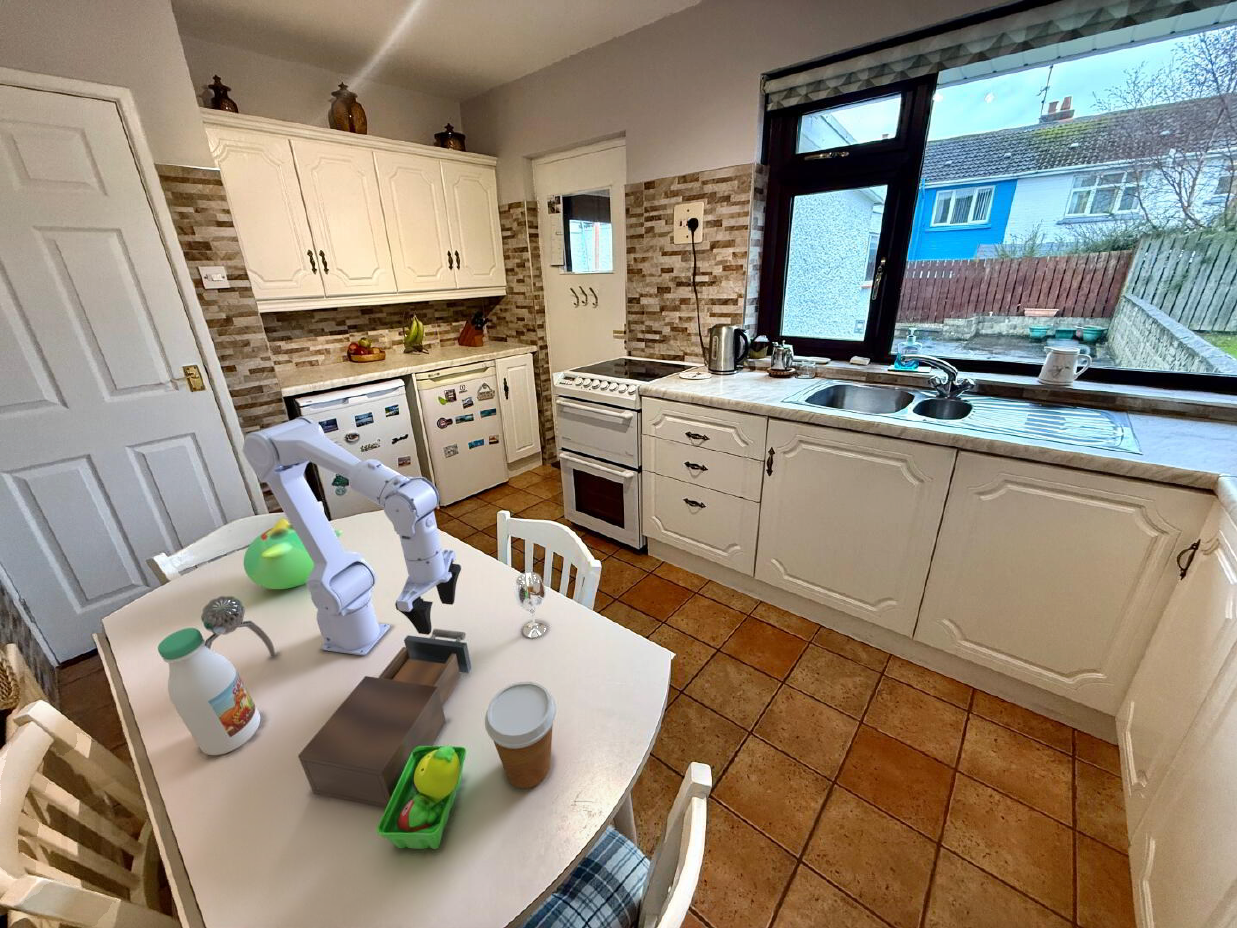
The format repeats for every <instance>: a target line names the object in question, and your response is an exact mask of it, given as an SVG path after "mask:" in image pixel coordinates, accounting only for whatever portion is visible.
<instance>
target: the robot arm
mask: <svg viewBox="0 0 1237 928" xmlns="http://www.w3.org/2000/svg"><path fill="white" fill-rule="evenodd" d="M243 440H244V442H243V446H242V449H241V450H242V453H243V455H244V458H245V459H246V461H247V462H248V464H249V465H250V467H251V469H252V470H253V473H254V474H255V475H256V477H257V478H258V480H259V482H260V483H266V484H267V485H268V487H269V489H270V491H271V493H272V494H273V496H274V498H275V499H276V501H277V503H278V504H279V506H280V508H281V509H282V511H283V513H284V515H285V516H286V519H287V521H288V522H290V523H291V525H292V527H293V528H294V530H295V532H296V533H297V535H298V537H299V539H300V540H301V542H302V544H303V545H304V547H305V549H306V551H307V552H308V554H309V556H310V557H311V559H312V561H313V563H314V567H313V569H312V571H311V573H310V575H309V577H308V579H307V581H306V583H305V584H306V586H307V588H308V590H309V593H310V598H311V601H312V604H313V606H314V607H315V608H316V609H317V612H316V622H317V626H318V628H319V631H320V634H321V635H320V636H321V637H322V640H323V645H322V646H321V650H323V651H329V652H334V653H335V652H336V653H342V654H343V653H344V654H350V655H357V656H366V655H367V654H368V653H369V652H370V651H371V649H372V648H373V647H374V646H375V645H376V644H377V643H378V642H379V641H380V639H382V638H383V636H384V635H385V634H386V633H387V631H388V630H389V629H390V628H391V625H390V624H387V623H386V624H385V623H379V621H378V617H377V614H376V611H375V607H374V603H373V600H372V594H373V593H374V590H373V587H374V586H375V585H376V584H377V574H376V572H375V570H374V568H373V566H371V565H370V563H368V562H367V561H366V560H365V558H364V557H363V555H362V553H360V552H357V551H351V550H350V551H348V550H345V547H344V546H343V544H342V543H341V541H340V539H339V537H337V535H336V534H335V532H334V531H335V529H334V528H333V526H332V525H331V523H330V520H328V518H327V516H326V514H325V512H324V510H323V508H322V507H321V505H320V503H319V501H318V500H317V498H316V496H315V494H314V492H313V491H312V489H311V487H310V485H309V483H308V482H307V480H306V477H304V473H305V472H306V471H305V470H306V468H307V465H308V464H309V463H312V464H314V465H317V466H319V467H321V468H323V469H325V470H328V471H330V472H332V473H333V474H336V475H338V476H341V477H342V478H345V479H347V480H348V484H349V488H350V490H351V491H353V492H355V493H357V494H359V495H360V496H362V497H364V498H365V499H368V500H369V501H371V502H372V503H374V504H376V505H378V506H380V507H381V508H382V510H383V512H384V514H385V516H386V518H387V519H388V520H389V521H390V522H391V524H392V527H393V529H394V532H395V533H396V534H397V535H398V536H399V540H400V544H401V549H402V552H403V558H404V562H405V566H406V570H407V574H408V576H407V579H406V580H405V583H404V586H403V588H402V590H401V593H400V594H399V596H398V598H397V599H396V600H395V603H394V605H395V609H396V610H397V611H398V612H400V613H401V614H402V615H403V616H405V617H406V618H407V619H408V620H409V621H410V623H411V624H412V625H413V627H414V629H415V630H416V632H417V633H418V634H419V635H427V636H429V635H430V634H432V627H433V626H432V620H431V611H432V606H433V603H434V601H429V600H424V598H422V596H423V595H424V594H426V593H427V592H429V591H430V590H432V589H433V588H435V587H436V591H437V594H438V597H439V601H440V602H441V604H443V605H451V606H452V605H454V603H455V599H456V590H457V589H456V588H457V583H458V579H459V576H460V573H461V571H462V566H461V564H459V563H454V562H455V561H456V560H457V556H456V551H455V550H454V549H453V550H452V549H444V550H442V546H441V540H440V535H439V530H438V526H437V520H436V515H435V510H434V509H435V508H437V507H438V506H439V504H440V493H439V491H438V488H437V487H436V486H435V484H434V483H433V482H431V481H430V480H428V479H427V478H426V477H424V476H415V477H414V476H411V475H409V476H405V475H404V474H401V473H399V472H397V470H394V469H391V467H389V466H387V465H385V464H383V463H382V462H381V461H379V460H378V459H374V458H369V459H365V460H363V461H362V460H361V459H359V458H358V457H356V456H355V455H354V454H352V453H351V452H349V451H347V450H346V449H344V448H343V447H341V446H340V445H339V444H337V443H335V442H334V441H332V440H331V439H330V438H328V437H327V436H326V434H325V431H324V429H323V427H322V426H321V424H319V423H317V422H314V421H313V419H311V418H310V417H307V416H298V417H296V418H294V419H292V420H289V421H286V422H283V423H279V424H276V425H274V426H270V427H267V428H264V429H261V430H258V431H251V432H249V433H247V434H246V436H245V437H244V439H243Z"/></svg>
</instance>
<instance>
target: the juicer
mask: <svg viewBox="0 0 1237 928" xmlns="http://www.w3.org/2000/svg"><path fill="white" fill-rule="evenodd" d="M245 613H246V609H245V607H244V605H243V602H242V601H241V600H240V599H239V598H236V597H235V596H232V595H227V596H226V595H221V596H218V597H216V598H213V599H211V600H209V602H208V603H206V604H205V606H204V607H203V609H202V614H201V616H200V620H201V622H202V624H203V627H204V629H205V630H206V631H208V632H209V633H212V634H211V635H210V636H209V637H208V638H206V639H205V644H204V645H205V646H206V647H207V648H209V649H210V650H211V648H212V645H213V642H214V641H215V640H216V639H218V637H220V636H222V635H223V636H227V635H228V634H232V633H234V632H235V631H237V629H239V628H245V627H246V628H247V629H249V630H250V631H252V632H253V633H254V634H255V635H256V636H257V637H258V638H259V639H260V640H261V641H262V642H263V644H264V645H265V647H266V648H267V650H268V652H269V656H270V657H275V655H276V650H275V649H276V648H275V645H274V644H273V642H272V639H271V638H270V637H269V635H268V634H267V633H266V632H265V631H264V630H263V629H262V627H261V628H260V627H259V626H258V625H257V624H256V623H254V622H253V621H252V620H244V618H245Z"/></svg>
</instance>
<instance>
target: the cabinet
mask: <svg viewBox="0 0 1237 928" xmlns="http://www.w3.org/2000/svg"><path fill="white" fill-rule="evenodd" d="M446 723H447V720H446V716H445V712H444V706H443V707H442V702H441V698H440V694H439V690H438V687H436V686H429V685H422V684H416V683H409V682H402V681H396V680H389V679H382V678H378V677H376V676H369V675H365V676H364V677H363V678H362V680H361V681H359V683H358V684H357V685H356V686H355V688H354V689H353V690H352V691H351V693H350V694H349V695H348V696H347V697H346V698H345V699H344V701H342V703H341V704H340V705H339V707H338V708H337V709H336V710H335V711H334V712H333V714H332V715H331V716H330V717H329V718H328V719H327V721H325V723H324V724H323V725H322V726H321V728H320V729H319V730H318V731H317V732H316V734H315V735H314V736H313V738H311V740H309V742H308V743H307V745H305V747H304V748H303V749H302V750H301V752H300V753H299V754H298V755H297V757H298V759H299V762H300V765H301V766H302V769H303V772H304V774H305V777H306V778H307V782H308V784H309V786H310V788H311V791H312V794H316V795H320V796H325V797H330V798H335V799H340V800H345V801H350V802H355V803H360V804H363V805H369V806H374V807H379V808H384V809H386V808H387V806H388V803H389V801H390V799H391V797H392V795H393V792H394V790H395V788H396V786H397V784H398V782H399V780H400V777H401V775H402V773H403V771H404V769H405V766H406V764H407V762H408V760H409V758H410V755H411V753H412V751H413V750H414V749H415V748H417V747H419V746H434V743H435V741H436V740H437V738H438V737H439V734H440V733H441V732H442V730H443V728H444V726H445V725H446Z"/></svg>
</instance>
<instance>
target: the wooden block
mask: <svg viewBox="0 0 1237 928" xmlns="http://www.w3.org/2000/svg"><path fill="white" fill-rule="evenodd" d="M443 666H444V664H442V663H435V662H428V661H421V660H414V659H408V660H407V661H406V662H405V664H404V665H403V666H402V668H401V669H400V670H399V671H398V673H397V674H396V675H395V677H394V678H393V679H392V680H396V681H402V682H409V683H416V684H422V685H429V686H430V685H431V684H432V682H433V681H434V679H435V678H436V676H437V675H438V673H439V672H440V670H441V669H442V667H443Z"/></svg>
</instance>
